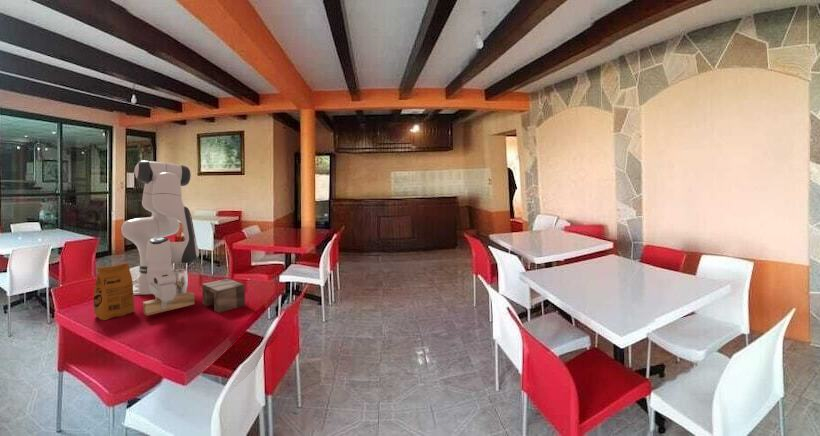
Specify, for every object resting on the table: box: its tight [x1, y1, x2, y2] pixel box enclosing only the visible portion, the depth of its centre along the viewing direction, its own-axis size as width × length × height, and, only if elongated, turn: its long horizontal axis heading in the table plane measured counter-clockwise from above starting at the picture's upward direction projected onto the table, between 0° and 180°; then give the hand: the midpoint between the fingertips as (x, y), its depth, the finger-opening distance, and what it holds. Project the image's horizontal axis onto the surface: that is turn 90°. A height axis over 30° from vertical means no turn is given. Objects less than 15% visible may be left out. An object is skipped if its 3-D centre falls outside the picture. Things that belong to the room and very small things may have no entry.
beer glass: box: [173, 268, 189, 295], centre depth 164 cm, size 7×7×15 cm
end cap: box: [201, 278, 246, 314], centre depth 161 cm, size 16×12×10 cm
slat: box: [142, 291, 195, 316], centre depth 150 cm, size 4×18×5 cm, turn 143°
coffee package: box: [93, 262, 135, 321], centre depth 146 cm, size 10×12×22 cm
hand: (161, 306), depth 147 cm, fingers closed on slat, 4 cm apart
